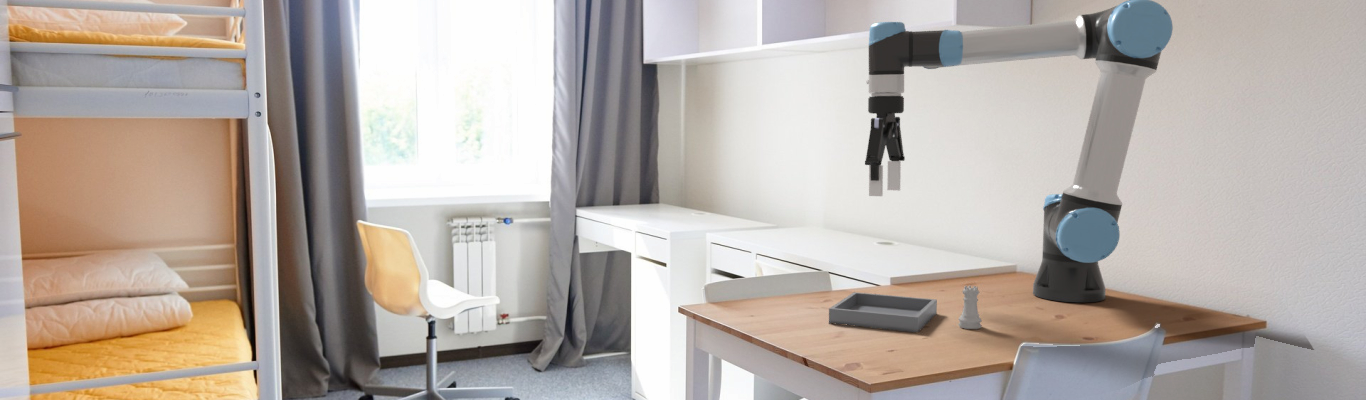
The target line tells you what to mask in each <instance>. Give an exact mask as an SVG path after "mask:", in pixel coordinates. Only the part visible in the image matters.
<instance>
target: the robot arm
mask: <svg viewBox="0 0 1366 400" xmlns="http://www.w3.org/2000/svg"><path fill="white" fill-rule="evenodd" d="M1173 28H1174V26H1173V21H1172V18H1171V15H1170V14H1169V12H1168V10H1167V9H1166V8H1165V7H1164V6H1162V4H1160V3H1158V2H1157V1H1154V0H1126V1H1123V2H1121V3H1120V4H1118V5H1116V6H1113V7H1111V8H1108V9H1105V10H1102V11H1097V12H1094V13H1088V14H1086V13H1085V14H1079V15H1077V17H1076V18H1075V19H1073V20H1065V21H1053V22H1046V23H1036V24H1035V23H1034V24H1027V25H1026V24H1024V25H1014V26H1013V25H1012V26H1005V27H996V28H986V29H975V30H965V31H963V30H962V31H960V30H956V29H955V30H951V29H944V30H942V29H941V30H923V31H912V30H911V31H910V30H906V26H905V23H904V22H902V21H882V22H881V21H880V22H875V23H872V24H871V26H870V27H869V31H868V32H869V34H868V35H869V36H868V79H867V80H866V85H868V93H869V94H871V96H869V97H868V101H867V102H868V103H867V104H868V106H867V107H868V108H867V109H868V110H867V112H868V113H869V114H876V117H872V118H871V119H870V130H869V137H868V144H867V150H866V154H865V156H866V157H865V161H864V165H865V166H869V167H868V169H869V170H868V171H869V173H868V179H869V180H868V196H869V197H883V195H884V193H883V192H884V191H883V190H884V188H883V187H884V186H883V184H884V183H883V182H884V181H883V180H884V177H883V176H884V175H883V174H884V165H883V164H882V162H883V158H884V155H885V149H886V151H887V155H888V158H889V160H887V191H897V192H899V191H901V170H902V169H901V168H902V167H901V161H902V162H903V161H905V160H906V159H905V154H904V147H903V139H902V138H903V137H902V132H901V117H900V116H896V114H903V113H904V111H905V109H904V107H905V97H904V96H902V94H903V93H905V68H906V67H908V68H909V67H912V68H913V67H915V68H916V67H919V68H920V67H922V68H924V69H927V70H936V69H938V68H939V69H940V68H948V67H955V66H956V67H958V66H969V65H981V64H991V63H1002V62H1003V63H1004V62H1013V61H1014V62H1015V61H1023V60H1024V61H1025V60H1034V59H1037V60H1038V59H1049V58H1057V57H1069V56H1075V57H1077V58H1078V59H1079V60H1089V59H1095V61H1094V64H1095V65H1096V66H1097V68H1098V69H1099V72H1100V73H1099V78H1098V81H1097V85H1096V90H1095V95H1094V96H1093V97H1094V98H1093V102H1092V106H1091V110H1090V113H1089V117H1088V122H1087V126H1086V130H1085V133H1084V138H1083V142H1082V146H1081V151H1080V155H1079V157H1078V163H1077V166H1076V171H1075V174H1074V179H1073V183H1072V185H1071V186H1069V187H1068V188H1066V189H1064V190H1062V193H1060V194H1059V193H1056V194H1055V193H1054V194H1053V193H1052V194H1048V195H1046V196H1045V198H1044V205H1043V207H1042V209H1043V232H1042V238H1043V239H1042V258H1041V259H1042V260H1041V263H1040V265H1039V268H1038V271H1037V273H1036V276H1035V277H1034V278H1035V279H1034V281H1033V284H1032V294H1033V295H1034V296H1036V297H1038V298H1041V299H1045V300H1050V301H1056V302H1064V303H1097V302H1101V301H1104V300H1105V299H1106V290H1107V289H1106V286H1105V282H1104V280H1103V276H1102V272H1101V270H1100V269H1101V268H1100V265H1099V262H1101V261H1102V260H1105V259H1106V258H1108V257H1109V256H1110V255H1111V254H1112V253H1113V252H1114V251H1115V250H1116V249H1117V246H1118V244H1119V241H1120V226H1119V224H1118V222H1119V218H1120V214H1121V211H1122V206H1123V202H1122V200H1121V199H1120V197H1119V196H1118V194H1117V193H1118V189H1119V185H1120V182H1121V178H1122V175H1123V174H1122V173H1123V169H1124V165H1125V161H1126V157H1127V154H1128V150H1129V146H1130V142H1131V139H1132V136H1133V135H1132V134H1133V130H1134V126H1135V123H1136V119H1137V115H1138V111H1139V108H1140V103H1141V99H1142V95H1143V91H1144V88H1145V83H1146V80H1147V78H1148V77H1150V76H1153V75H1154V74H1155V73H1157V70H1158V66H1159V63H1160V59H1161V54H1162V51H1163V50H1164V49H1165V48H1166V47H1167V45H1168V44H1169V43H1170V41H1171V38H1172V35H1173Z"/></svg>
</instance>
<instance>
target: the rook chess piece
mask: <svg viewBox="0 0 1366 400" xmlns="http://www.w3.org/2000/svg"><path fill="white" fill-rule="evenodd" d="M963 287H964V288H963V290H962V293H963V295H964V297H963V309H962V313H961V314H960V316H959V317H958V321H959V323H958V324H957V325H958V326H959V328H960V327H961V328H960V329H963V328H964V329H963V330H969V329H976V330H980V328H981V327H982V326H983V325H982V324H981V322H982V318H981V317H980V314H979V311H978V309H979V308H978V301H979V299H978V295H979V294H980V291H979V287H978V286H975V285H973V286H972V285H964V286H963Z"/></svg>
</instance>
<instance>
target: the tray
mask: <svg viewBox="0 0 1366 400" xmlns="http://www.w3.org/2000/svg"><path fill="white" fill-rule="evenodd" d="M937 309H938V299H934V298H933V299H932V298H924V297H914V296H913V297H912V296H900V295H888V294H877V293H868V292H855V291H854V292H852V293H850V294H849V295H847V296H845V298H843V299H841V300H840V301H838V302H837V303H835V304H833V305H832V306H831V307H829V308H828V324H830V323H836V324H835V325H839V324H847V325H846V326H849V325H855V326H854V327H858V326H864V327H863V328H868V327H872V328H871V329H877V328H882V329H881V330H887V329H890V331H896V330H898V331H899V332H906V331H907V333H915V332H918V333H919V332H920V331H921V330H922V329H923V328H924V327H925V326H926V325H927V324H928V323H929V322H930V321H931V320H932V319H933V318H934V317H935V316H936V315H937V313H938V312H937ZM924 325H925V326H924ZM920 329H921V330H920Z"/></svg>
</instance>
